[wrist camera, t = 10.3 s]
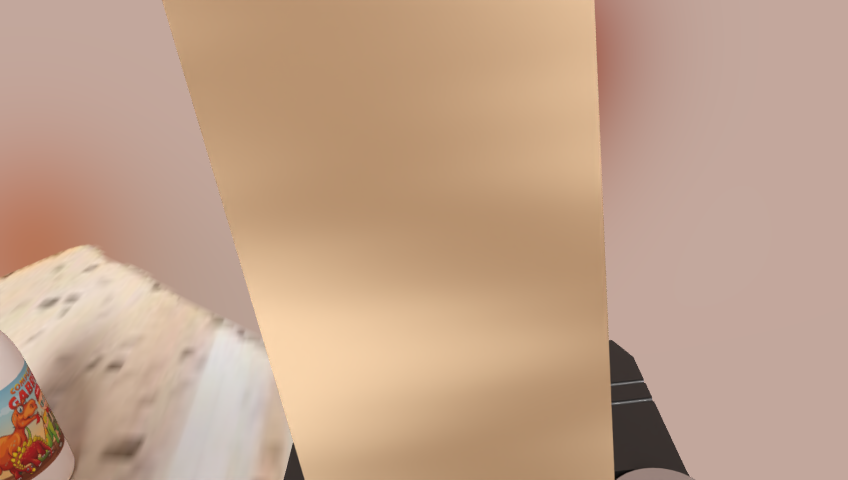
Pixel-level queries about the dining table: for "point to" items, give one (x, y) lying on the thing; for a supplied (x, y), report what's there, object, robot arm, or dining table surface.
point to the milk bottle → (28, 424)
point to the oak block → (416, 226)
